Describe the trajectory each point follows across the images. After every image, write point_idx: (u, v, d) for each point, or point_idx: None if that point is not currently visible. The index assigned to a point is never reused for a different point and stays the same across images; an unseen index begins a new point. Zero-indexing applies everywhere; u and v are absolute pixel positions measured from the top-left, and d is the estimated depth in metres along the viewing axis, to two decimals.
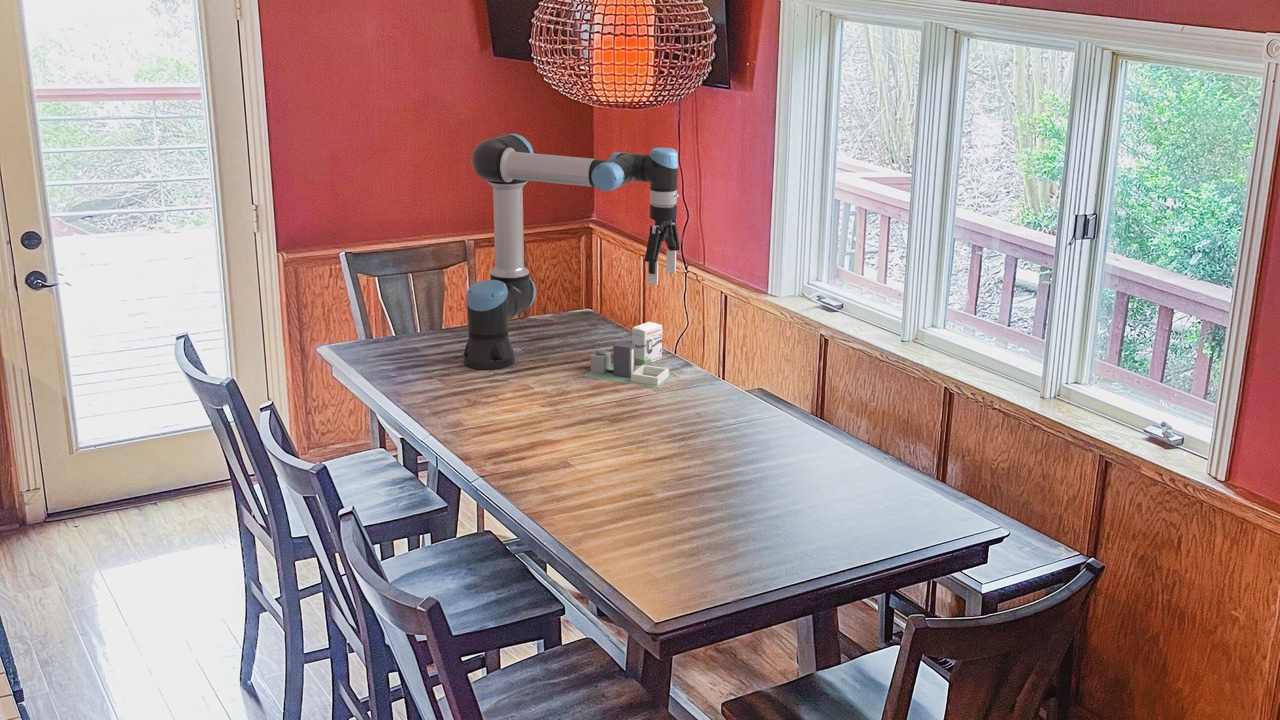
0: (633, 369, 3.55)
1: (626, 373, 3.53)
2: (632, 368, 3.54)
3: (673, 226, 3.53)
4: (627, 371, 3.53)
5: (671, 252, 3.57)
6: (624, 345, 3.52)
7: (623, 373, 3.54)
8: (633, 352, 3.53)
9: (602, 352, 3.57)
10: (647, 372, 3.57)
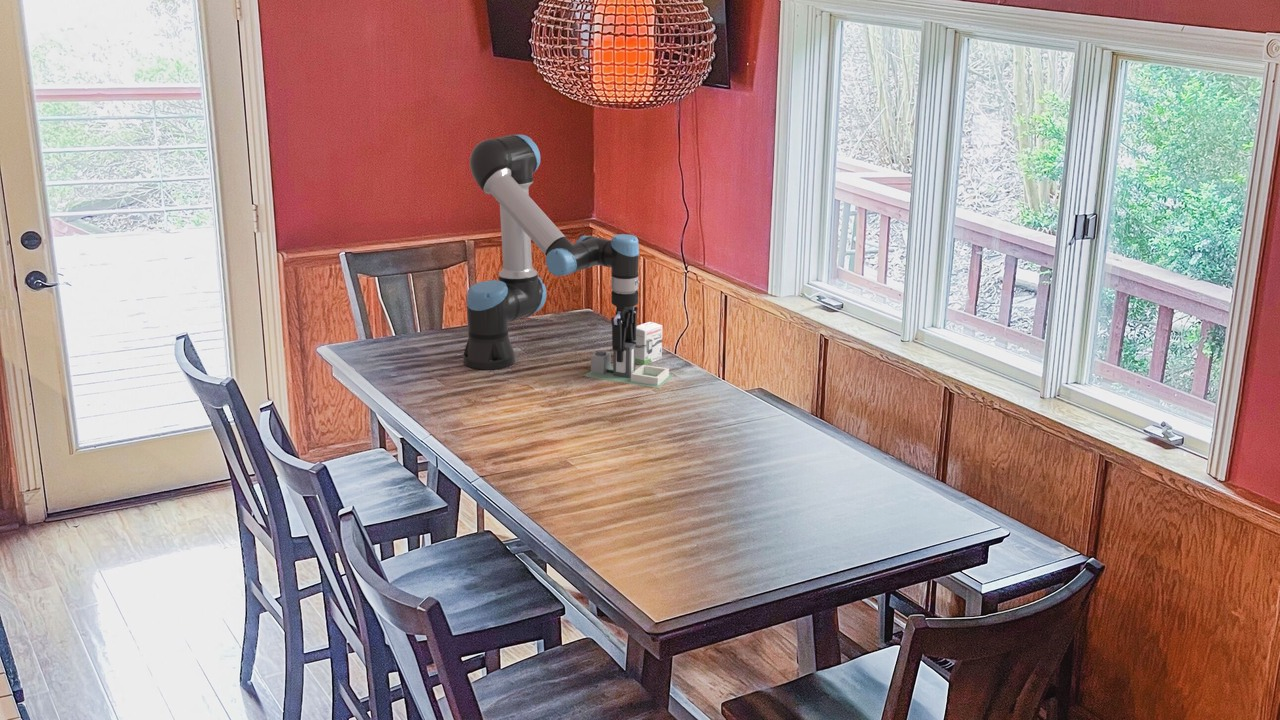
0: (633, 369, 3.55)
1: (626, 373, 3.53)
2: (632, 368, 3.54)
3: (634, 315, 3.54)
4: (627, 371, 3.53)
5: None
6: None
7: (623, 373, 3.54)
8: (633, 352, 3.53)
9: (602, 352, 3.57)
10: (647, 372, 3.57)
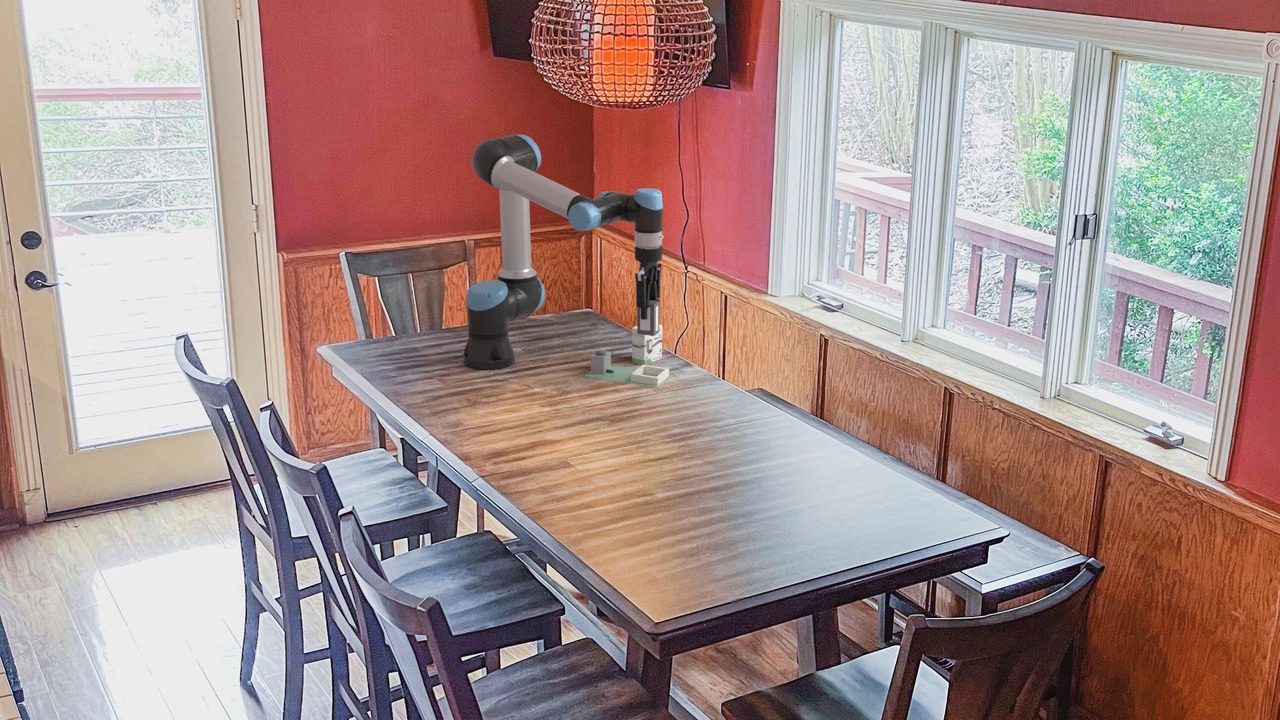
0: (657, 327, 3.48)
1: (650, 331, 3.46)
2: (656, 326, 3.47)
3: (657, 272, 3.47)
4: (652, 329, 3.46)
5: None
6: None
7: (648, 331, 3.46)
8: (657, 309, 3.46)
9: (602, 352, 3.57)
10: (647, 372, 3.57)
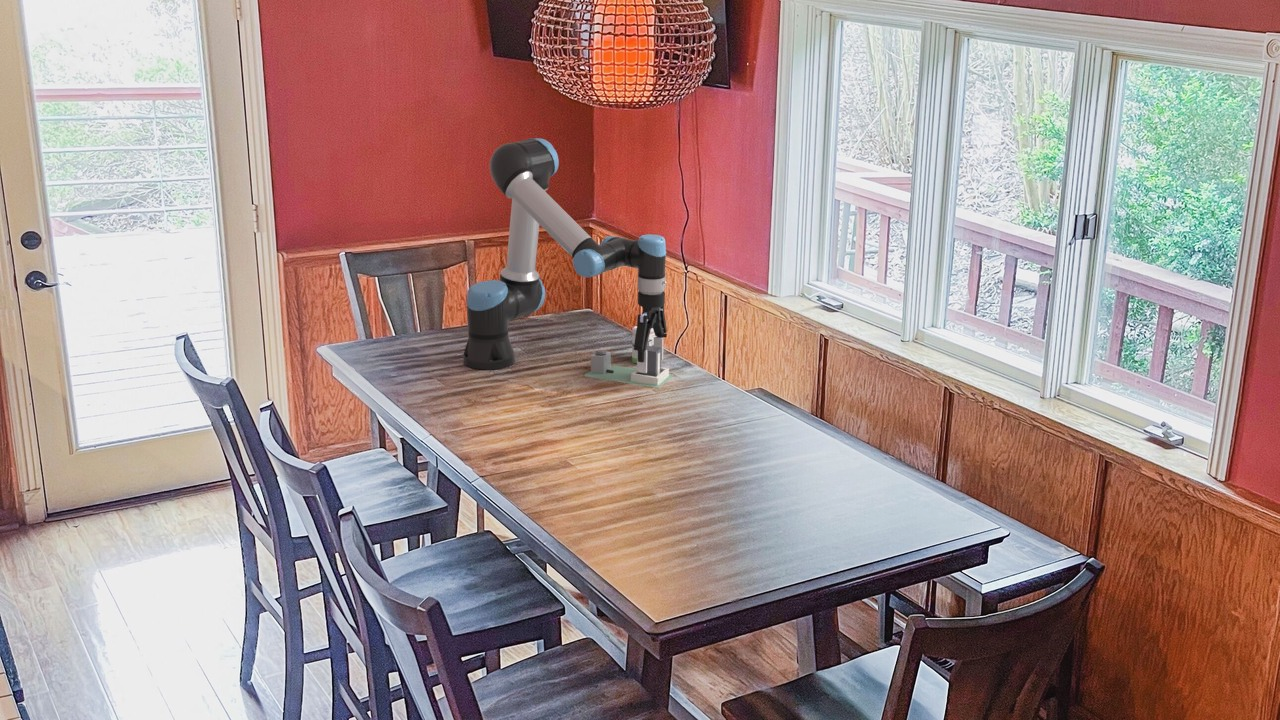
0: (659, 373, 3.52)
1: None
2: (658, 372, 3.51)
3: (661, 312, 3.52)
4: (654, 375, 3.50)
5: (658, 339, 3.55)
6: (650, 349, 3.49)
7: None
8: (659, 356, 3.50)
9: (602, 352, 3.57)
10: None
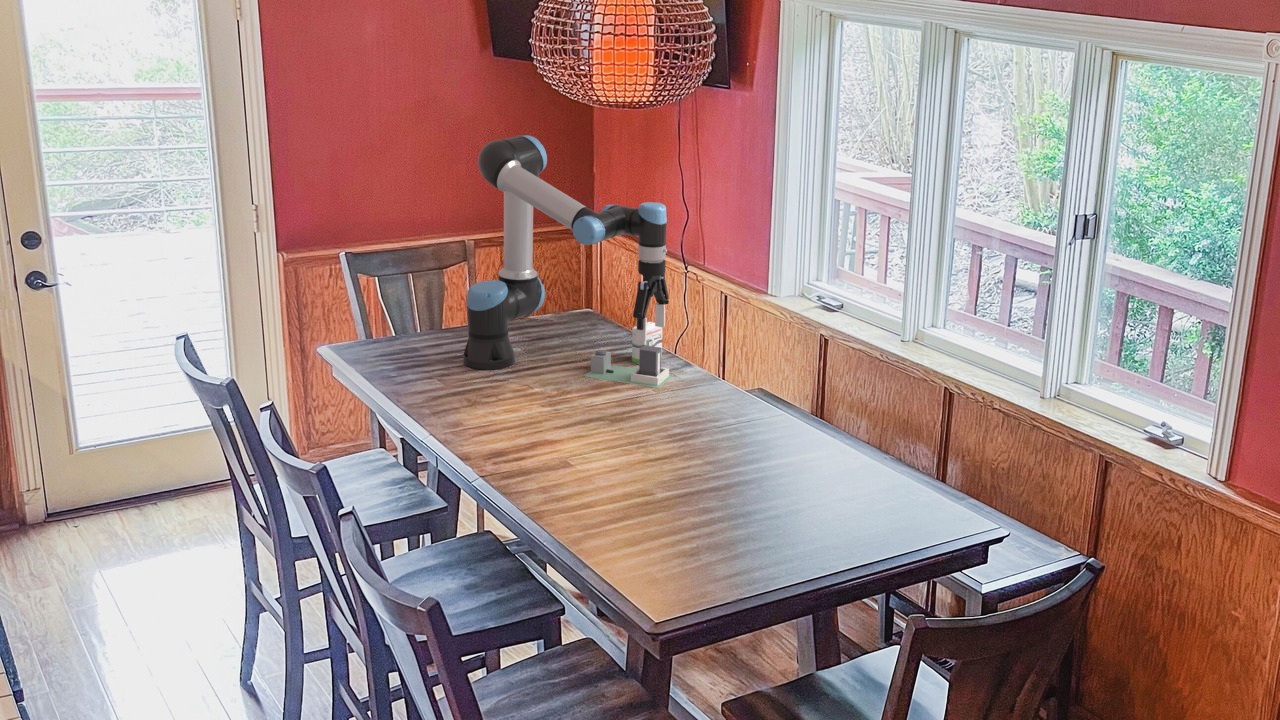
0: (659, 373, 3.52)
1: None
2: (658, 372, 3.51)
3: (662, 280, 3.49)
4: (654, 375, 3.50)
5: (660, 306, 3.52)
6: (650, 349, 3.49)
7: None
8: (659, 356, 3.50)
9: (602, 352, 3.57)
10: None
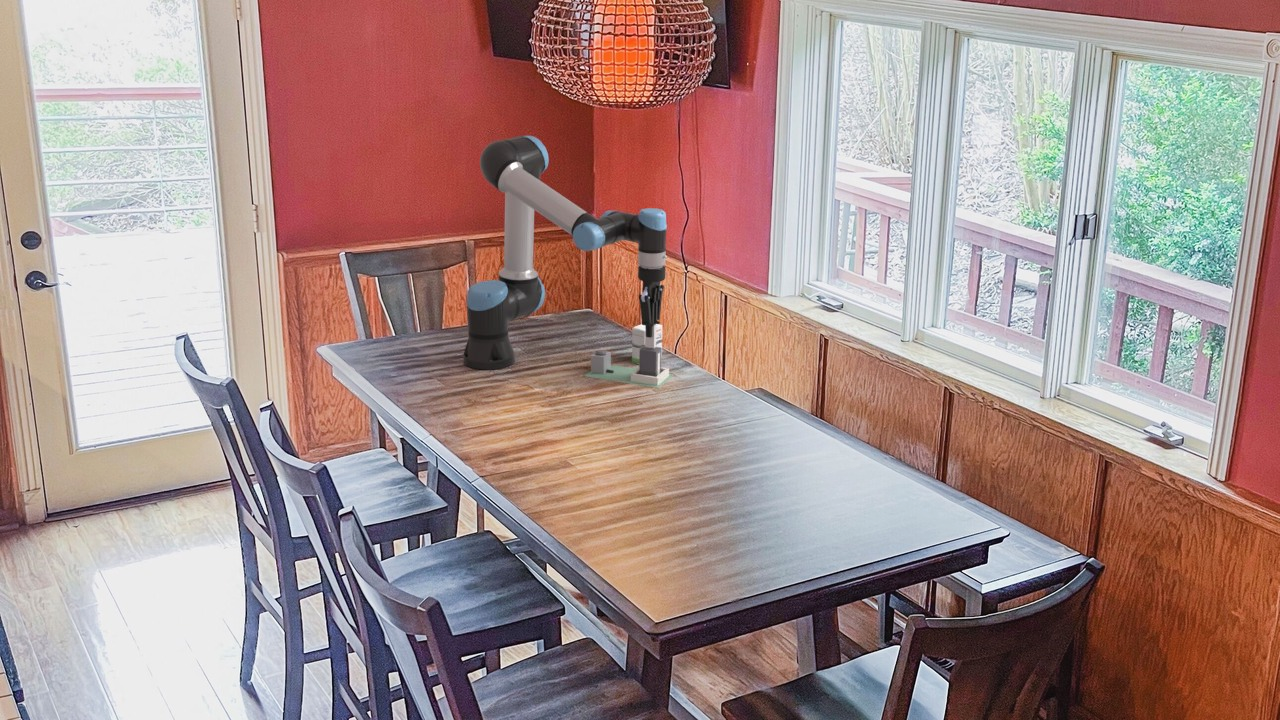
0: (659, 373, 3.52)
1: None
2: (658, 372, 3.51)
3: (659, 292, 3.48)
4: (654, 375, 3.50)
5: None
6: (650, 349, 3.49)
7: None
8: (659, 356, 3.50)
9: (602, 352, 3.57)
10: None
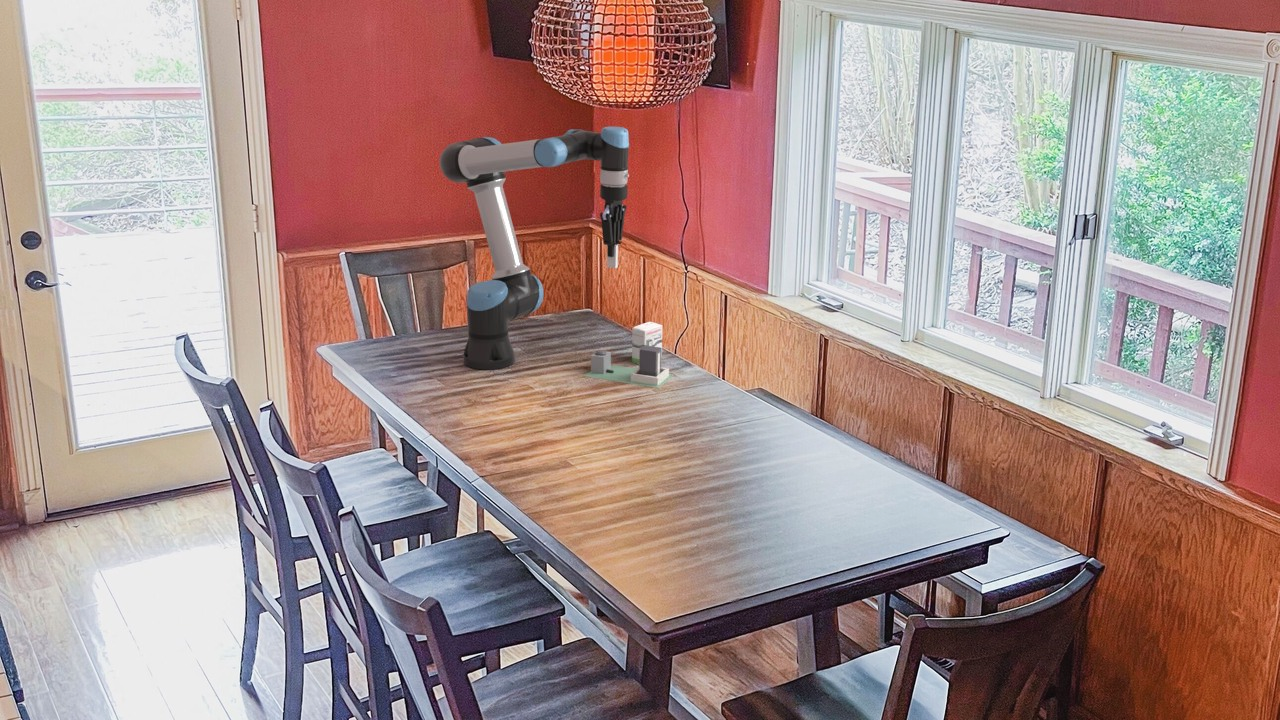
0: (659, 373, 3.52)
1: None
2: (658, 372, 3.51)
3: (622, 212, 3.49)
4: (654, 375, 3.50)
5: None
6: (650, 349, 3.49)
7: None
8: (659, 356, 3.50)
9: (602, 352, 3.57)
10: None
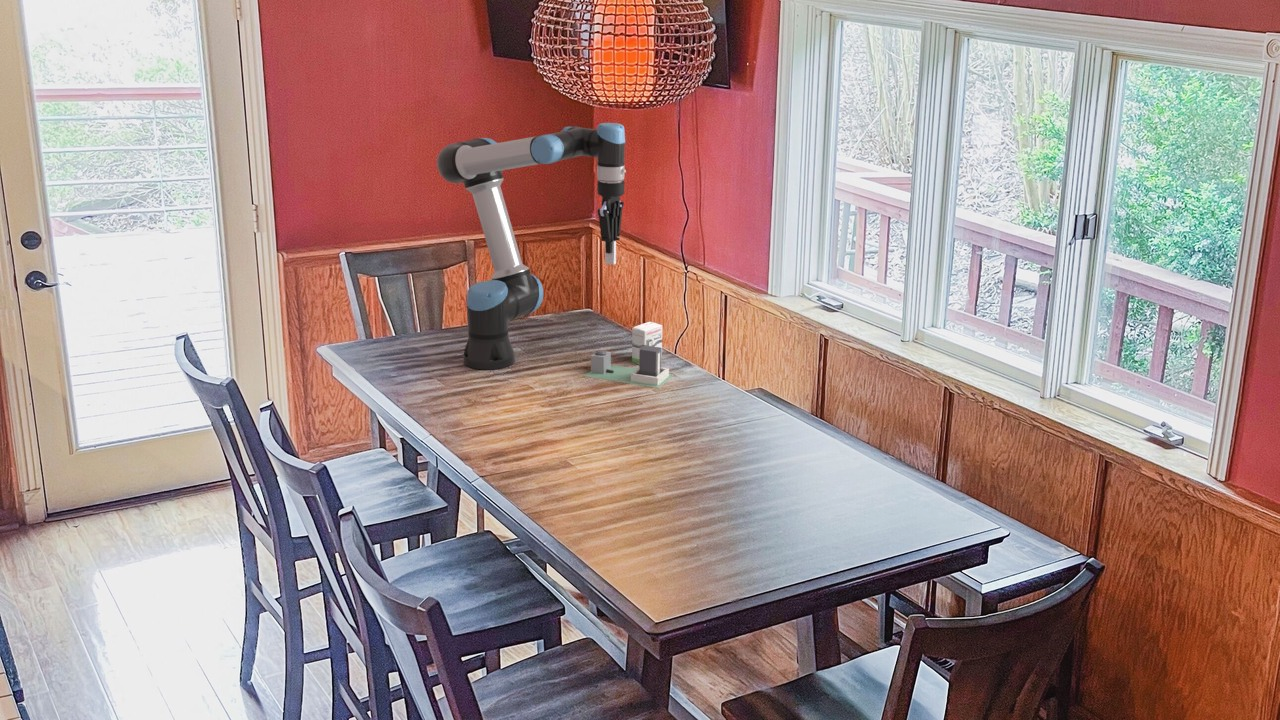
0: (659, 373, 3.52)
1: None
2: (658, 372, 3.51)
3: (619, 209, 3.49)
4: (654, 375, 3.50)
5: None
6: (650, 349, 3.49)
7: None
8: (659, 356, 3.50)
9: (602, 352, 3.57)
10: None
